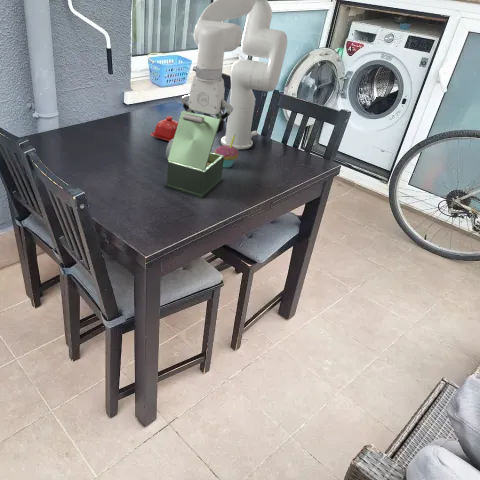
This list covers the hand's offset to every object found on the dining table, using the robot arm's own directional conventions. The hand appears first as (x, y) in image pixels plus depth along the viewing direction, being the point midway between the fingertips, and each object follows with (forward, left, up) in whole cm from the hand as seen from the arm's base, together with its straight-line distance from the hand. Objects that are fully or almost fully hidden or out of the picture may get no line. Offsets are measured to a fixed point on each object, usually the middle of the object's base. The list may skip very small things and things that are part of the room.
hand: (204, 128), depth 141 cm
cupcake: (-15, -3, -18) cm, 23 cm away
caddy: (+4, +2, -17) cm, 18 cm away
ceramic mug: (-4, -15, -18) cm, 23 cm away
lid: (+7, +3, -1) cm, 8 cm away
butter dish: (-14, -35, -18) cm, 41 cm away
